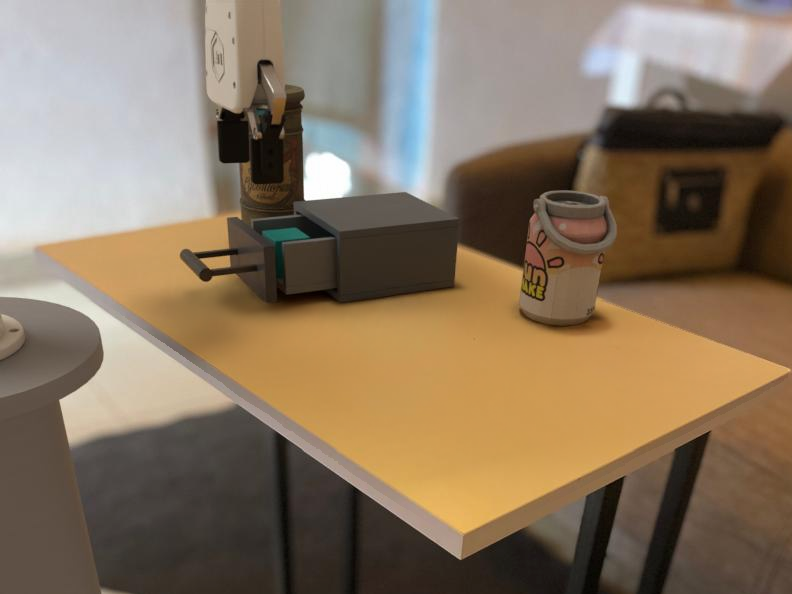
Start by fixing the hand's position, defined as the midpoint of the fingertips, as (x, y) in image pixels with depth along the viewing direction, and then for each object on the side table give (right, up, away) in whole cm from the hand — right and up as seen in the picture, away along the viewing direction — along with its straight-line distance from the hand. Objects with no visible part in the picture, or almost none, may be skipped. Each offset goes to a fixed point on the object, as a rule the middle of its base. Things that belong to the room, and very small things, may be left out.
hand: (250, 172), depth 85 cm
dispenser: (+12, -7, +13) cm, 19 cm away
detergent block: (+3, -8, +8) cm, 11 cm away
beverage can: (+32, -13, +6) cm, 35 cm away
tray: (+2, -9, +8) cm, 12 cm away
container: (-1, 0, +22) cm, 22 cm away
